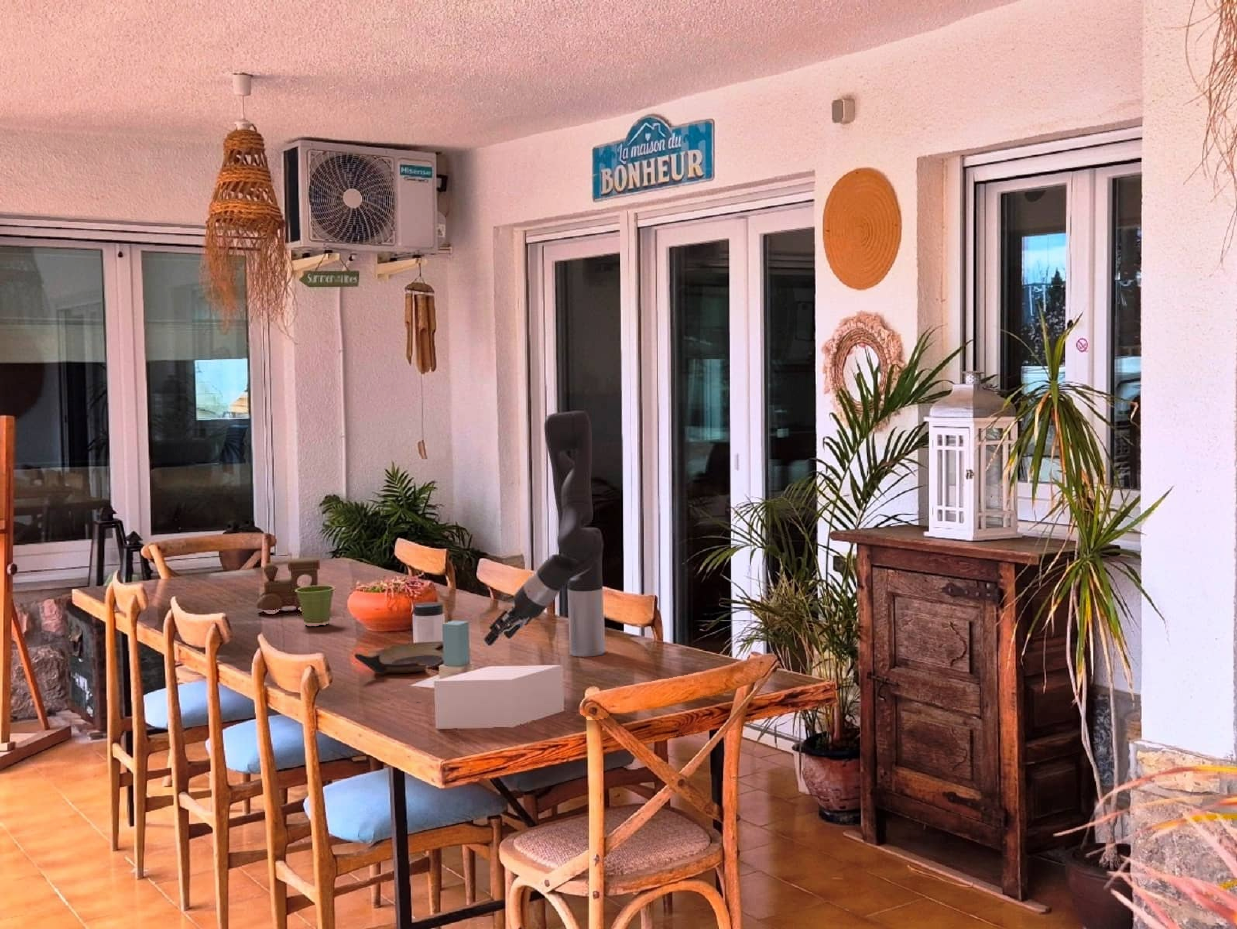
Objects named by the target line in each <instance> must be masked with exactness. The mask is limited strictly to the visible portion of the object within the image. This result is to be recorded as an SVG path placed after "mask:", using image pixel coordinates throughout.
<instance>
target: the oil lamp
mask: <svg viewBox="0 0 1237 929" xmlns="http://www.w3.org/2000/svg"><path fill="white" fill-rule="evenodd" d="M441 649H442V650H441ZM354 657H355V658H354V659H356V660H358V661H359V662H360V663H362V664H363V665H365V666H366V667H368V668H369V669H370V670H371V671H373V673H375V674H379V675H383V674H385V673H391V674H394V673H395V674H396V673H397V674H409V673H419V672H425V671H426V669H427V670H433V669H436V668H439V666H440V665H443V664H444V658H443V642H442V641H439V642H417V643H414V642H409V643H403V644H395V645H391V646H390V647H384V648H382V649H380V650H378V651H375V652H370V653H368V654H367V655H364V654H362V653H358V652H357V653H355V654H354Z"/></svg>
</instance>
